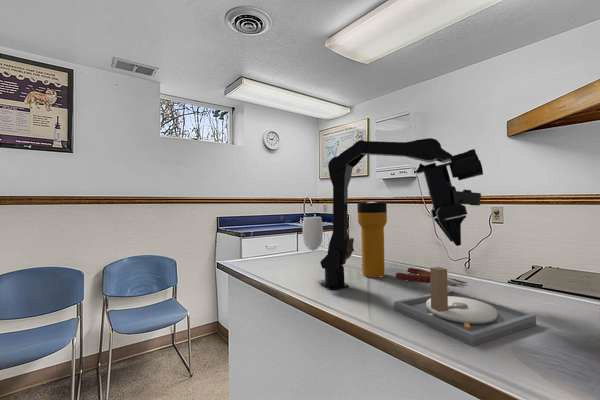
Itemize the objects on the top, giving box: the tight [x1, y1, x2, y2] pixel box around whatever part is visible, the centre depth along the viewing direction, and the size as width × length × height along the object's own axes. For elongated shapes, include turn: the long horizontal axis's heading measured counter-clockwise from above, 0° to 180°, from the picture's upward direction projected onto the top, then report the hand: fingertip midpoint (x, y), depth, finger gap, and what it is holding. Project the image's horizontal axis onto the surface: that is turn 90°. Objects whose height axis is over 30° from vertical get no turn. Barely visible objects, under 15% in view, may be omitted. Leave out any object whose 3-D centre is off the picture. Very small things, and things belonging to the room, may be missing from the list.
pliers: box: [395, 267, 468, 287], centre depth 96 cm, size 12×20×3 cm, turn 45°
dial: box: [426, 266, 497, 324], centre depth 67 cm, size 14×14×10 cm
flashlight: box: [356, 201, 388, 278], centre depth 104 cm, size 10×26×10 cm
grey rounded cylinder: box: [302, 216, 324, 251], centre depth 105 cm, size 7×7×21 cm
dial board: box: [393, 289, 537, 347], centre depth 67 cm, size 20×20×2 cm
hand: (455, 243), depth 77 cm, fingers open, 9 cm apart
